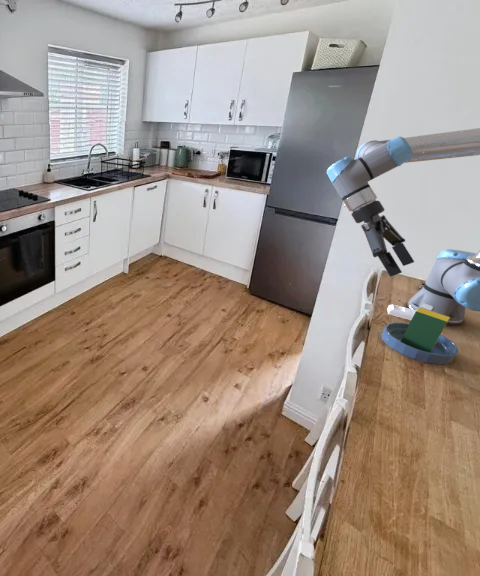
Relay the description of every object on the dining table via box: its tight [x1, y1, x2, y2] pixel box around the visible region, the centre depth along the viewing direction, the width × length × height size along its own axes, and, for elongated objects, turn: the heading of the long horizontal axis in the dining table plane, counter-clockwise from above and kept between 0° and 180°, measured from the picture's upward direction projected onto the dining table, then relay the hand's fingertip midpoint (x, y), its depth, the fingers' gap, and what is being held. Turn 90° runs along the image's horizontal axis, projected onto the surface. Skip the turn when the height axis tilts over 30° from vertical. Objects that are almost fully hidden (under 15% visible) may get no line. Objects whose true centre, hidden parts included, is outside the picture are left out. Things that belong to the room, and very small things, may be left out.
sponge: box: [400, 307, 450, 353], centre depth 107 cm, size 4×7×11 cm, turn 40°
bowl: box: [381, 321, 459, 365], centre depth 108 cm, size 17×17×4 cm
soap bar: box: [386, 304, 417, 321], centre depth 126 cm, size 5×9×3 cm, turn 56°
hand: (402, 269), depth 107 cm, fingers open, 13 cm apart
